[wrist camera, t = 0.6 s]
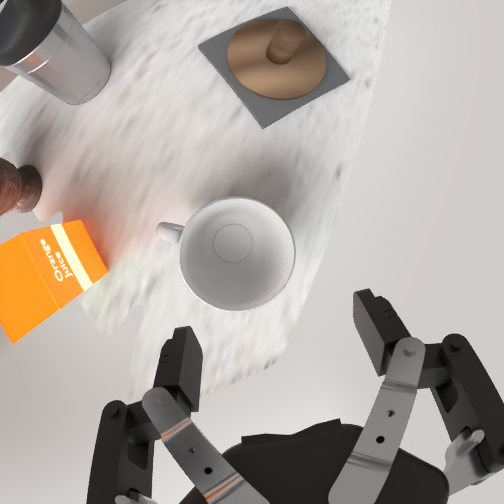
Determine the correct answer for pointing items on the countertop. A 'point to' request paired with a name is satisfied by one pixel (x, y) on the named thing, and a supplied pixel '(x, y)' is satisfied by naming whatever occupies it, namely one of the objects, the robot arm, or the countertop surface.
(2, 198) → the mortar and pestle
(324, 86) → the rubber mat
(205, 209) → the teacup
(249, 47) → the walnut lid
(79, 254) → the orange juice
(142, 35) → the countertop surface
